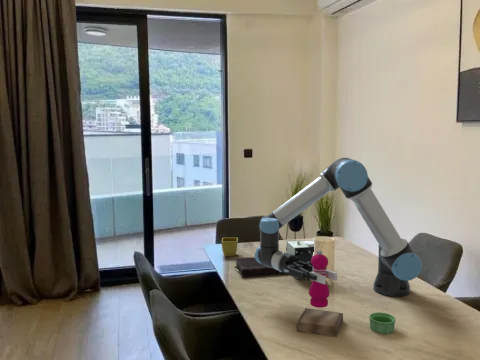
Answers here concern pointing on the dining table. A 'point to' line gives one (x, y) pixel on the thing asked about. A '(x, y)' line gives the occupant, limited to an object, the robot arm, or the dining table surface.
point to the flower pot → (229, 246)
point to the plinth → (320, 322)
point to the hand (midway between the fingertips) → (330, 278)
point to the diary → (254, 268)
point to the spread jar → (311, 245)
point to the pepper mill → (317, 289)
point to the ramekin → (382, 322)
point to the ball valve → (299, 250)
